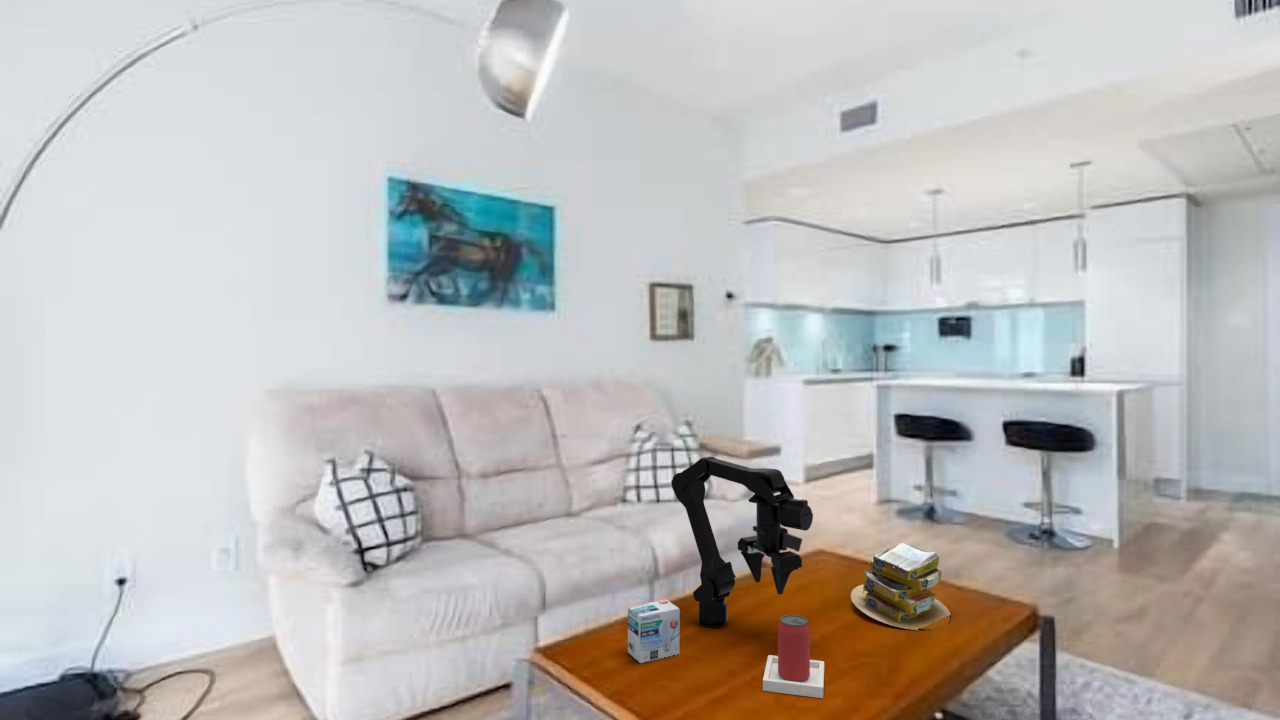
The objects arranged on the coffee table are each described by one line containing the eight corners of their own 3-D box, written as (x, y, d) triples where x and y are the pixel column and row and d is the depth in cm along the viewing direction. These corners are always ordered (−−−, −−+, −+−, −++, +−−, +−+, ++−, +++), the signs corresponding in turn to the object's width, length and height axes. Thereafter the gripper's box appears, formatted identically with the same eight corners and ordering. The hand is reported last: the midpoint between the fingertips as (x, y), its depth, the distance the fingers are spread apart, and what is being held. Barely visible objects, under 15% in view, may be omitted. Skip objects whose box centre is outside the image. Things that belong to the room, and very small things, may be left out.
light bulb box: (639, 664, 156) (639, 616, 156) (626, 652, 162) (626, 606, 162) (681, 654, 161) (681, 607, 161) (666, 643, 167) (666, 598, 167)
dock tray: (762, 690, 144) (762, 680, 144) (768, 664, 155) (768, 654, 155) (823, 698, 141) (823, 687, 140) (824, 671, 152) (824, 661, 152)
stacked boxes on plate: (972, 621, 179) (972, 556, 179) (897, 637, 169) (898, 569, 169) (901, 590, 202) (901, 532, 202) (831, 603, 192) (831, 542, 192)
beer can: (802, 686, 143) (802, 628, 143) (772, 677, 147) (772, 621, 147) (814, 673, 149) (814, 617, 149) (785, 665, 153) (785, 611, 152)
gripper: (821, 528, 161) (821, 595, 162) (773, 511, 178) (773, 571, 179) (781, 534, 157) (781, 603, 157) (736, 515, 174) (736, 578, 174)
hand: (768, 588), depth 167 cm, fingers open, 9 cm apart
